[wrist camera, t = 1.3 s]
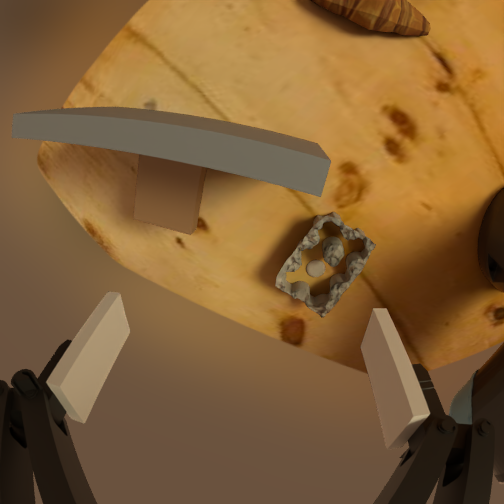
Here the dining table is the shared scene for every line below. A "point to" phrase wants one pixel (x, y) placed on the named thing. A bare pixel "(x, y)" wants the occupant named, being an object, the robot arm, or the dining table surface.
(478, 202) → the dining table surface
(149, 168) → the wall board
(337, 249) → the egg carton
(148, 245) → the dining table surface
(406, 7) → the croissant
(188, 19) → the dining table surface
